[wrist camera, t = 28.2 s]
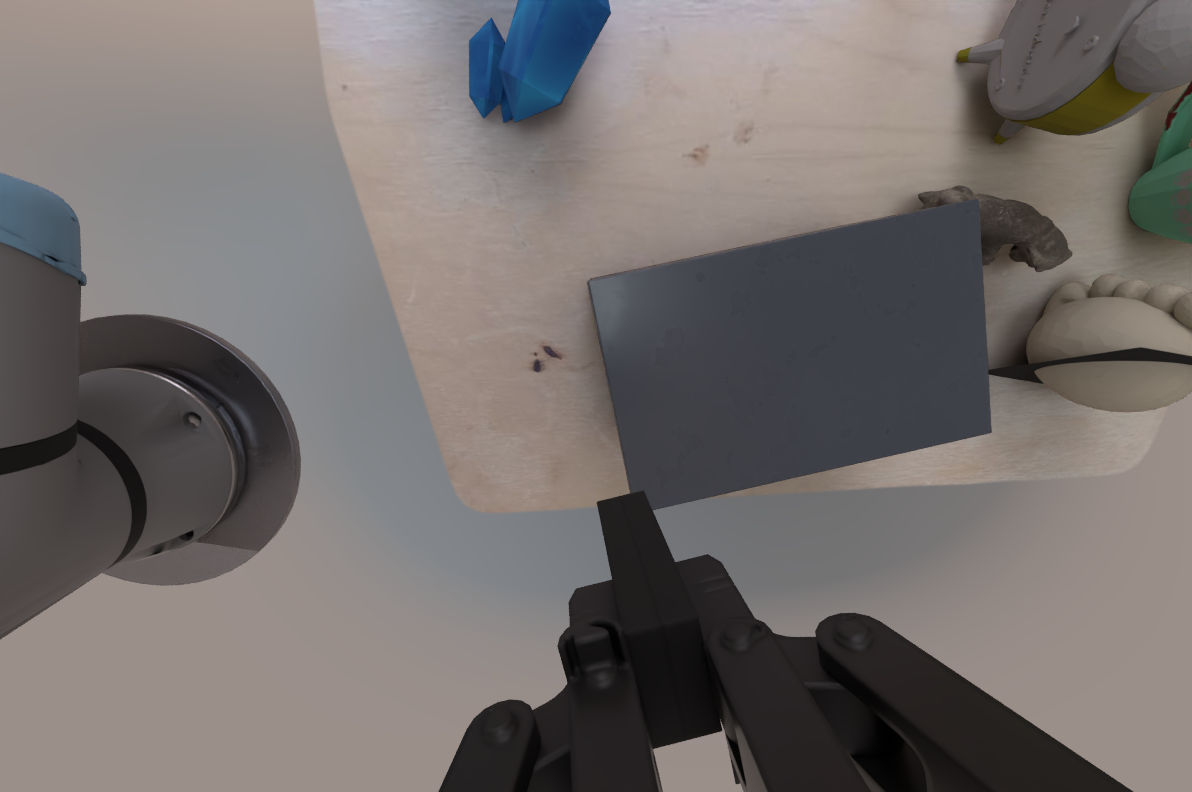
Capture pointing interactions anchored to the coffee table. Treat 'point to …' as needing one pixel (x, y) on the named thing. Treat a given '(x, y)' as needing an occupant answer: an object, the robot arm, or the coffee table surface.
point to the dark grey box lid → (797, 354)
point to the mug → (1168, 179)
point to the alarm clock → (1084, 62)
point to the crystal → (533, 56)
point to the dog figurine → (1009, 228)
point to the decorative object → (1112, 345)
